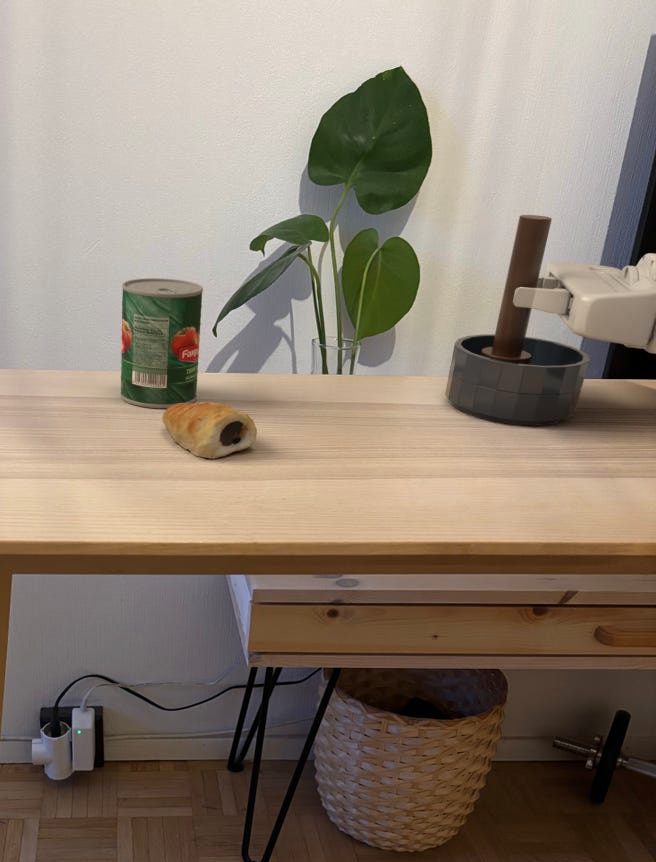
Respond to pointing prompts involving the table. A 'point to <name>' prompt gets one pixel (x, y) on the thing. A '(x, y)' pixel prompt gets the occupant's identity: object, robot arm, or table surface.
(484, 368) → the bowl
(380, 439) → the table surface
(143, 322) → the canned tomato
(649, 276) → the robot arm
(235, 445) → the pastry
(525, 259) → the stirrer
